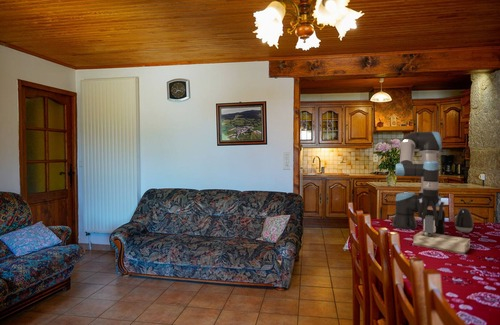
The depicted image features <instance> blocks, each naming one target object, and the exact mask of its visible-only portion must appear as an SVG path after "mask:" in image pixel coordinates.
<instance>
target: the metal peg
mask: <svg viewBox="0 0 500 325" xmlns="http://www.w3.org/2000/svg"><path fill="white" fill-rule="evenodd" d="M433 220H435V218H434V216H430V215H426V216H425V232H426V233H427V237H432V234H433V233H434V232H433Z"/></svg>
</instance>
